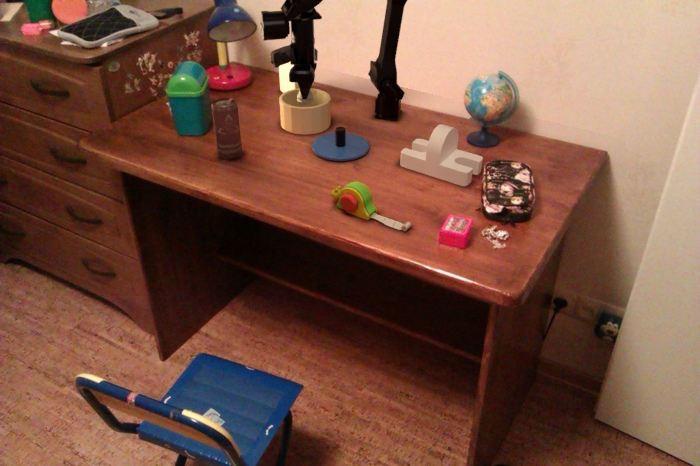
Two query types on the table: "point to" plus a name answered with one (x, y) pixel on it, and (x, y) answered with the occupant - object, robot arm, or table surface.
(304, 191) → the table surface
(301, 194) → the table surface
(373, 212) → the toy measuring tape
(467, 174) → the grey bracket part
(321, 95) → the tin
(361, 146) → the lid
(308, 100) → the rook chess piece
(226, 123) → the can
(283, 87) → the photo printer
